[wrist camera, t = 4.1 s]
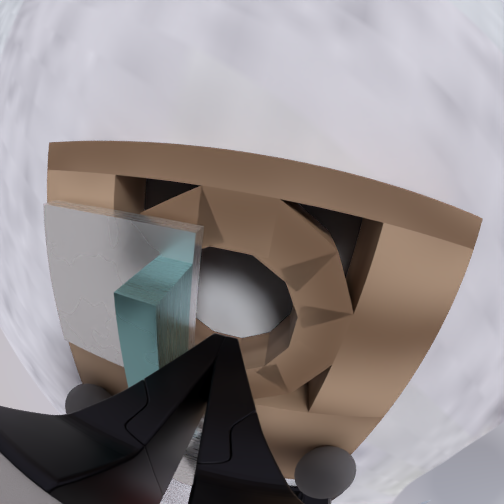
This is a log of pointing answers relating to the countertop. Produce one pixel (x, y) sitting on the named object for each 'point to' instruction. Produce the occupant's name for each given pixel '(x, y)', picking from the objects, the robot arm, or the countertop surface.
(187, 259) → the cover
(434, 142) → the countertop surface
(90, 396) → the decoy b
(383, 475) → the countertop surface
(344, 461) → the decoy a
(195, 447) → the ball
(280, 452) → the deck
